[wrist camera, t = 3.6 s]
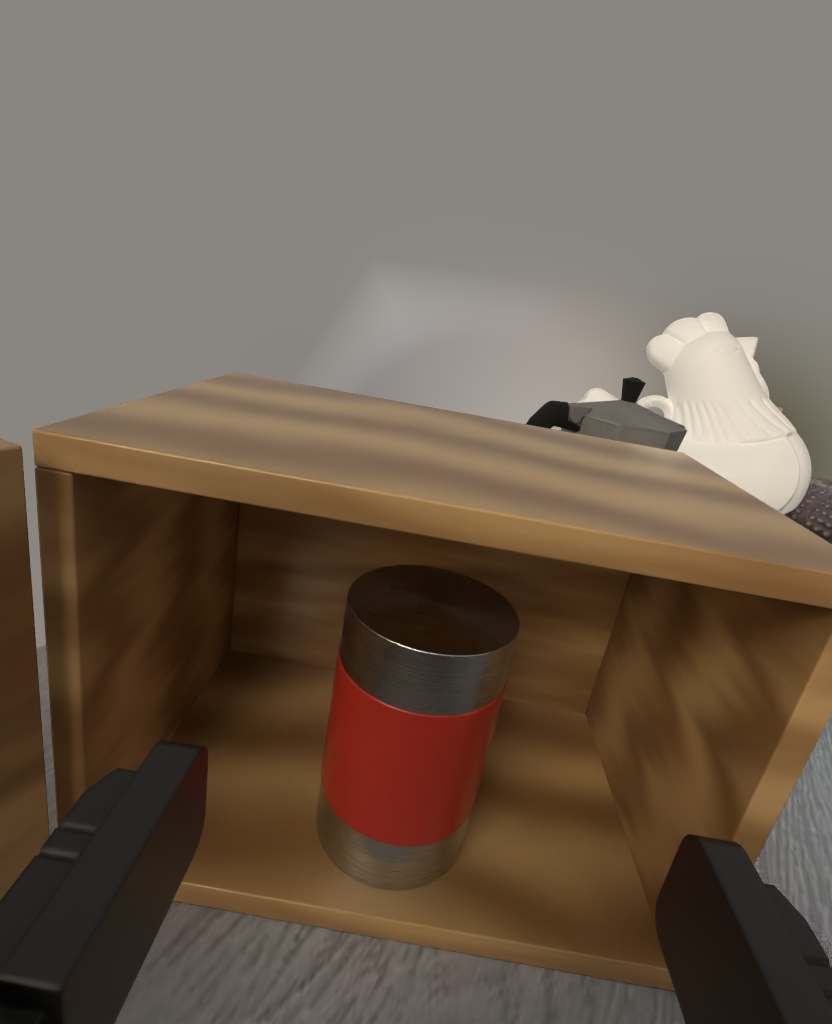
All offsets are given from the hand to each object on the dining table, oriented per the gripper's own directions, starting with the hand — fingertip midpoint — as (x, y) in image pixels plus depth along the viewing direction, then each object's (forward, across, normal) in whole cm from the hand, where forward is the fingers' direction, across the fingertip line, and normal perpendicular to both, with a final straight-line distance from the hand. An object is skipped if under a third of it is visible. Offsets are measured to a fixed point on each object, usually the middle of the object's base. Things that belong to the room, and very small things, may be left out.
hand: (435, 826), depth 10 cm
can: (+10, 0, +11) cm, 15 cm away
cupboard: (+13, 0, +12) cm, 18 cm away
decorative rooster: (+58, -27, +12) cm, 65 cm away
